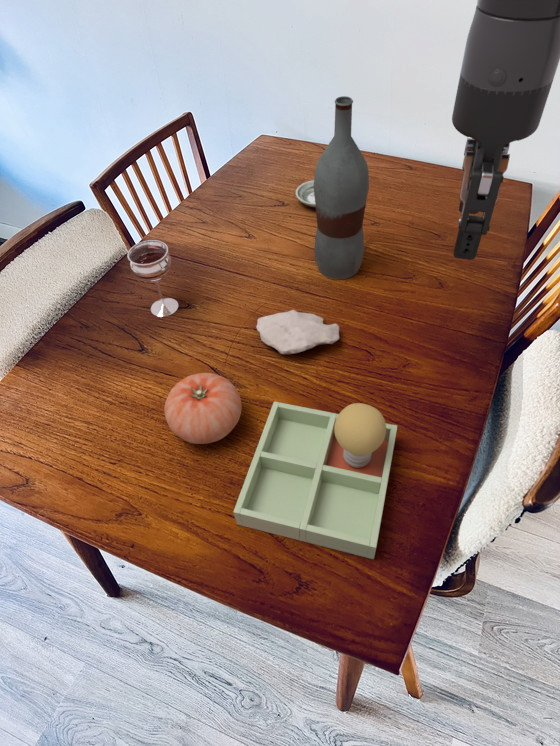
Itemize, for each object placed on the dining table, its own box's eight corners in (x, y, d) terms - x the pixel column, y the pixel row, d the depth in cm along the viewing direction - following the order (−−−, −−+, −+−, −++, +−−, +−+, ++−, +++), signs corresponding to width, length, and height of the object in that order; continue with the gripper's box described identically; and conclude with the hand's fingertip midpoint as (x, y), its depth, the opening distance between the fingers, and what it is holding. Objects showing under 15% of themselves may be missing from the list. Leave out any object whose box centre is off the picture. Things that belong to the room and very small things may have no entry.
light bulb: (343, 431, 73) (346, 387, 65) (387, 447, 71) (395, 403, 63) (325, 468, 69) (326, 425, 62) (371, 486, 67) (378, 444, 60)
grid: (394, 440, 73) (397, 425, 70) (373, 559, 62) (376, 547, 59) (275, 415, 76) (273, 401, 74) (236, 524, 66) (233, 511, 63)
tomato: (203, 384, 81) (194, 349, 75) (259, 414, 77) (254, 380, 71) (155, 432, 76) (141, 399, 70) (212, 468, 71) (202, 436, 65)
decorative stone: (349, 328, 88) (269, 314, 93) (349, 309, 85) (267, 296, 91) (327, 367, 80) (241, 349, 86) (326, 347, 78) (238, 330, 83)
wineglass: (189, 310, 93) (175, 255, 83) (154, 325, 90) (135, 270, 81) (174, 289, 96) (158, 234, 87) (140, 304, 94) (120, 249, 85)
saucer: (290, 211, 111) (290, 200, 109) (302, 187, 117) (302, 177, 115) (334, 216, 109) (334, 205, 107) (344, 192, 115) (344, 181, 113)
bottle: (307, 257, 100) (303, 93, 78) (351, 246, 102) (359, 82, 79) (324, 286, 95) (326, 118, 72) (371, 274, 96) (386, 106, 73)
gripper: (559, 108, 39) (501, 279, 51) (551, 41, 47) (503, 201, 60) (455, 102, 40) (423, 269, 53) (466, 39, 49) (436, 194, 61)
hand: (466, 233), depth 56 cm, fingers open, 8 cm apart
